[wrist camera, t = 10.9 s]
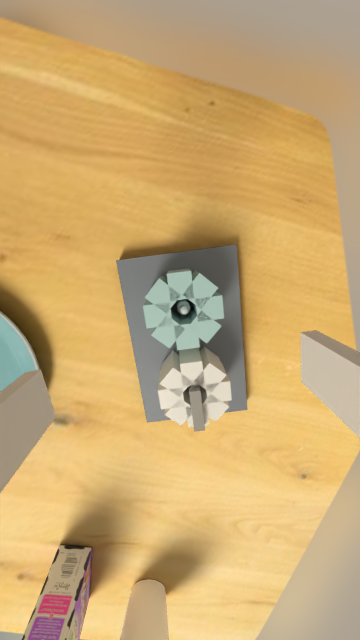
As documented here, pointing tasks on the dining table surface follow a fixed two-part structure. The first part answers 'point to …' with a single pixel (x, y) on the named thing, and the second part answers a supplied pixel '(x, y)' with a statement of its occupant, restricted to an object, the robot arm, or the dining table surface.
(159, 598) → the foam cup
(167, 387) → the gear
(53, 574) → the candy box
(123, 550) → the dining table surface
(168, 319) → the teal gear
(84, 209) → the dining table surface
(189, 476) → the dining table surface
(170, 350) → the gear board
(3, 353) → the plate
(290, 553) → the dining table surface
